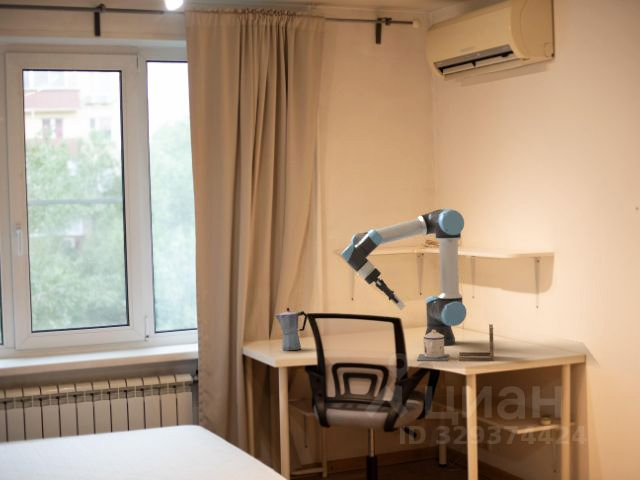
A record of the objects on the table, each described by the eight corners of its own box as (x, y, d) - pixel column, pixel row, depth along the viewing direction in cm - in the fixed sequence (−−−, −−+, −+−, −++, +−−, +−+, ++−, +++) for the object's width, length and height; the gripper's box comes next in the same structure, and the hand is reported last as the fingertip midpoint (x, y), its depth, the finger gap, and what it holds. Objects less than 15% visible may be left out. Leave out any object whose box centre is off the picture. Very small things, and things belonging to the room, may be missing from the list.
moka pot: (275, 348, 414) (274, 307, 413) (307, 347, 415) (306, 305, 414) (276, 351, 404) (275, 309, 403) (309, 350, 405) (307, 308, 405)
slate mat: (419, 355, 383) (419, 354, 383) (448, 355, 381) (448, 354, 381) (417, 360, 370) (417, 359, 370) (447, 361, 367) (447, 359, 367)
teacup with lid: (426, 354, 382) (425, 328, 382) (446, 354, 380) (445, 328, 379) (421, 359, 371) (420, 332, 370) (441, 359, 368) (441, 332, 368)
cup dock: (459, 355, 380) (458, 324, 379) (493, 355, 377) (492, 324, 376) (458, 360, 367) (457, 328, 366) (493, 361, 364) (493, 328, 364)
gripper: (363, 277, 401) (395, 309, 400) (363, 280, 376) (397, 315, 375) (374, 266, 400) (406, 298, 400) (375, 268, 375) (409, 303, 375)
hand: (402, 306), depth 387 cm, fingers open, 13 cm apart
